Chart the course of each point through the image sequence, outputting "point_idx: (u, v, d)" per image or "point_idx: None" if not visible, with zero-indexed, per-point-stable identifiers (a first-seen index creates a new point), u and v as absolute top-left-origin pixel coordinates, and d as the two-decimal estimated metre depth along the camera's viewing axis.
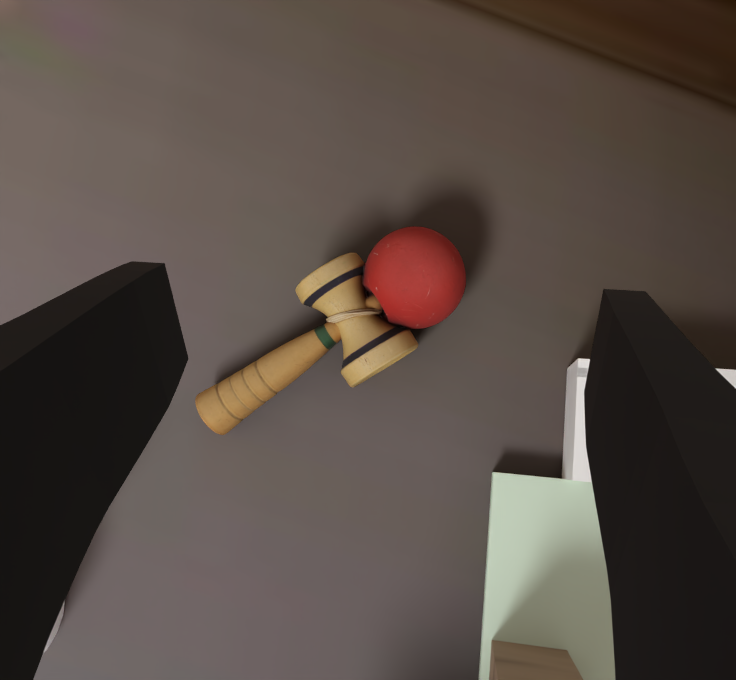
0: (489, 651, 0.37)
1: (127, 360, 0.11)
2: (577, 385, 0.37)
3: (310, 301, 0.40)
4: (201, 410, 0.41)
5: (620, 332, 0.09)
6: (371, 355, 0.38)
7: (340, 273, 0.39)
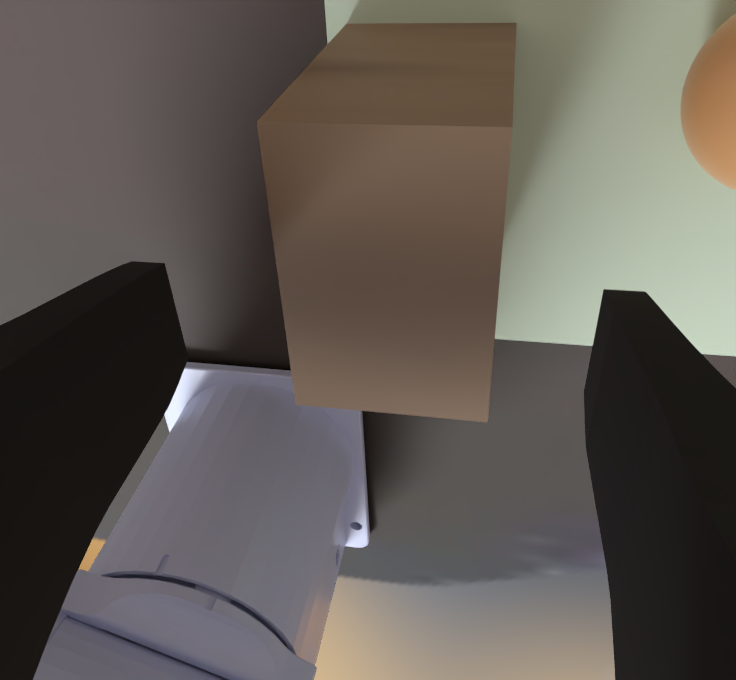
0: None
1: (127, 360, 0.11)
2: None
3: None
4: None
5: (620, 332, 0.09)
6: None
7: None
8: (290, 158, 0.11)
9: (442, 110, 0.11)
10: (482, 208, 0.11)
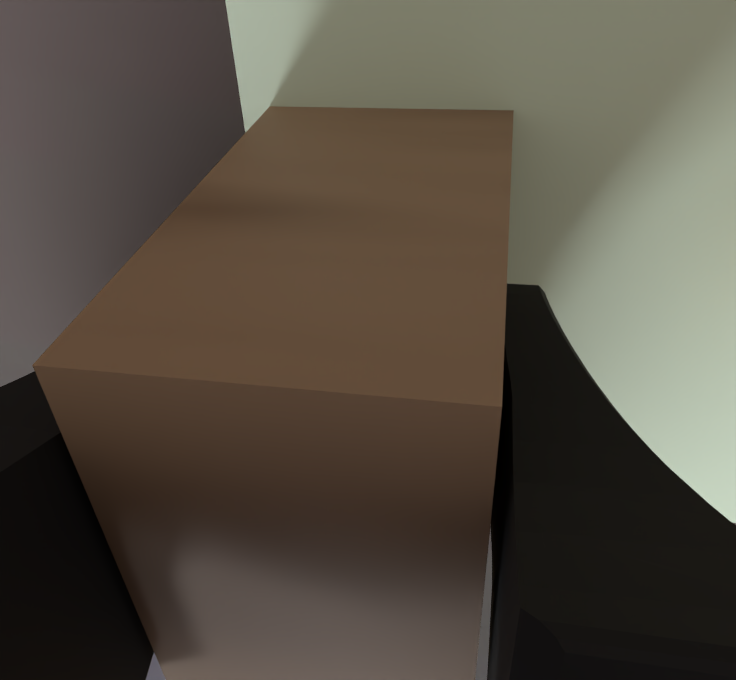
0: None
1: None
2: None
3: None
4: None
5: None
6: None
7: None
8: (103, 419, 0.06)
9: (374, 342, 0.06)
10: (448, 516, 0.06)
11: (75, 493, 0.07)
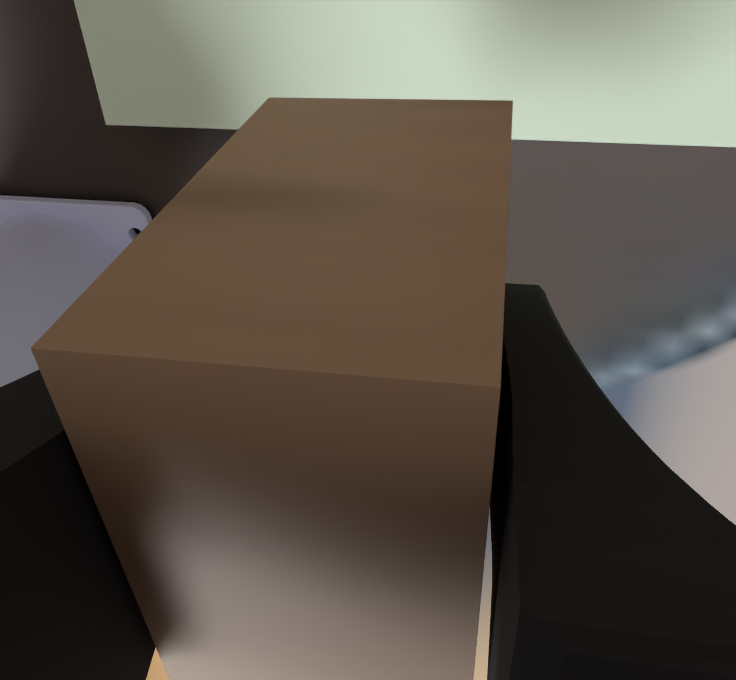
0: None
1: None
2: None
3: None
4: None
5: None
6: None
7: None
8: (101, 404, 0.06)
9: (372, 323, 0.06)
10: (447, 499, 0.06)
11: (75, 494, 0.07)
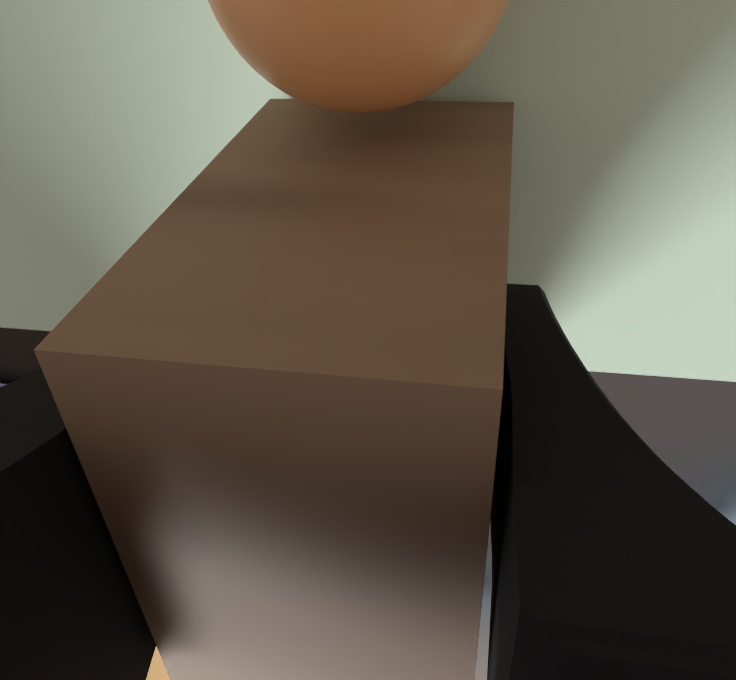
0: None
1: None
2: None
3: None
4: None
5: None
6: None
7: None
8: (103, 405, 0.06)
9: (374, 326, 0.06)
10: (449, 501, 0.06)
11: (75, 494, 0.07)
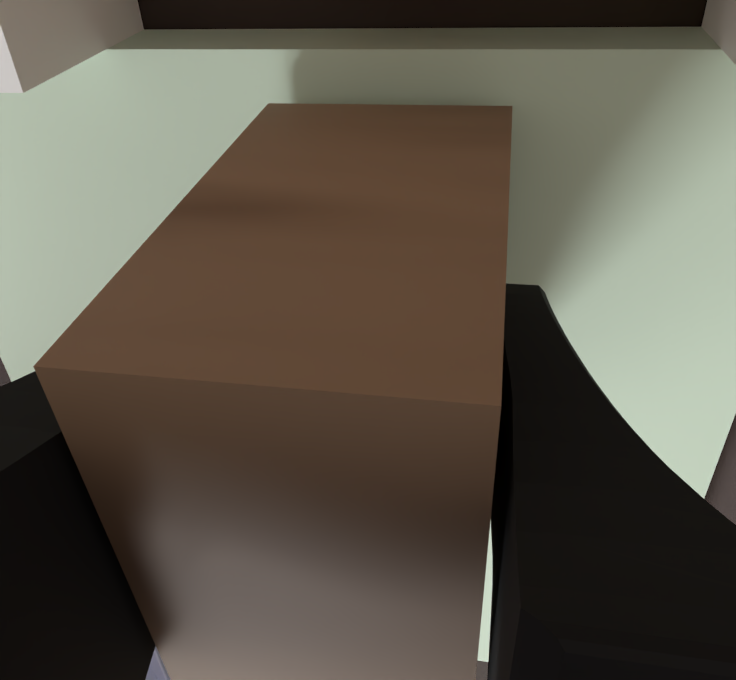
0: None
1: None
2: None
3: None
4: None
5: None
6: None
7: None
8: (103, 421, 0.06)
9: (374, 341, 0.06)
10: (448, 514, 0.06)
11: (74, 494, 0.07)
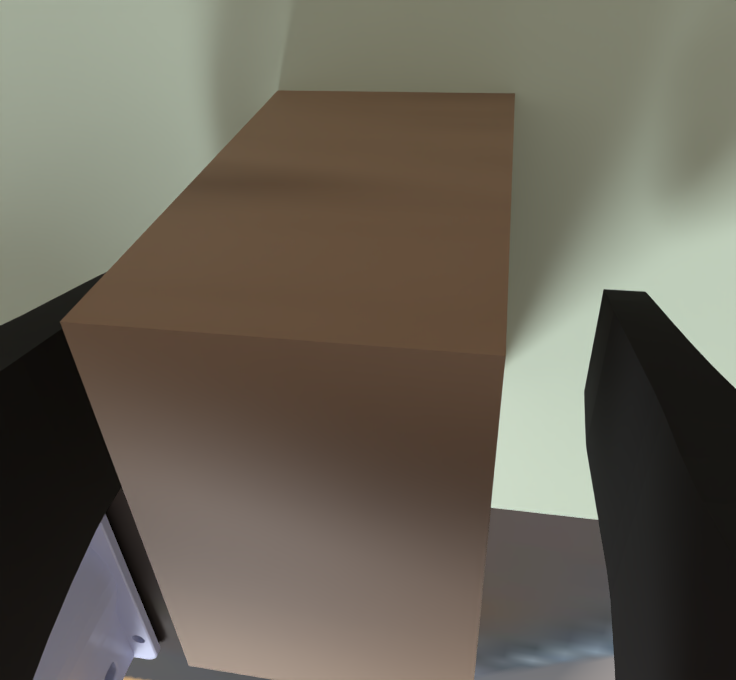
0: None
1: None
2: None
3: None
4: None
5: (620, 332, 0.09)
6: None
7: None
8: (126, 376, 0.07)
9: (384, 299, 0.06)
10: (454, 466, 0.06)
11: None
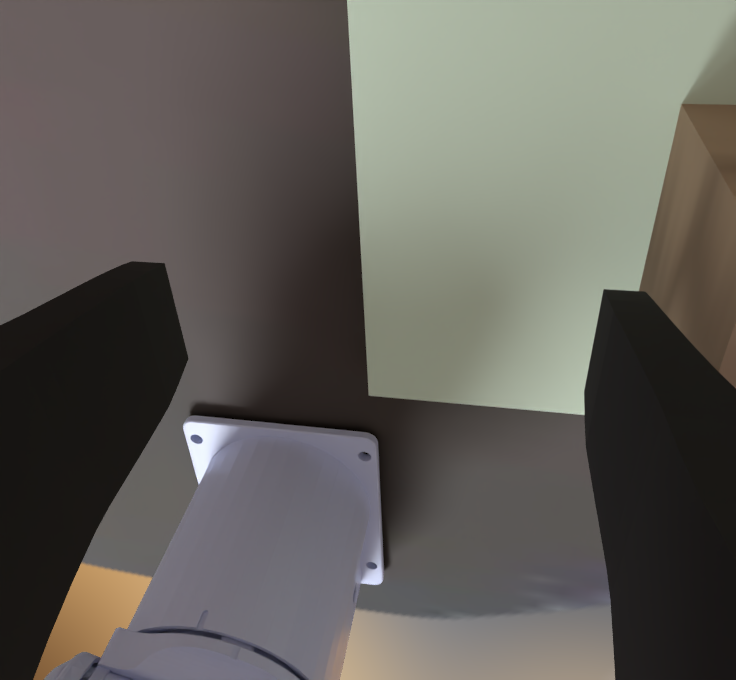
0: (371, 164, 0.19)
1: (127, 360, 0.11)
2: None
3: None
4: None
5: (620, 332, 0.09)
6: None
7: None
8: None
9: None
10: None
11: None
